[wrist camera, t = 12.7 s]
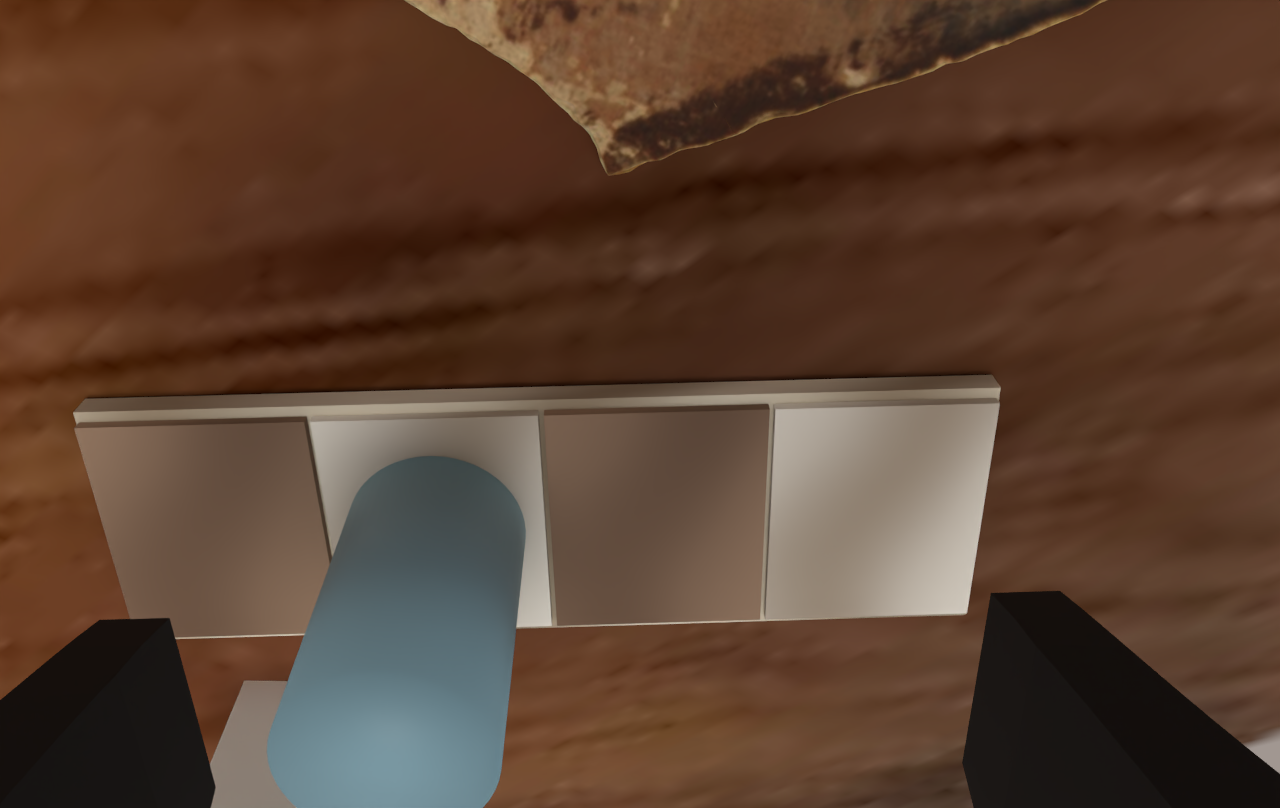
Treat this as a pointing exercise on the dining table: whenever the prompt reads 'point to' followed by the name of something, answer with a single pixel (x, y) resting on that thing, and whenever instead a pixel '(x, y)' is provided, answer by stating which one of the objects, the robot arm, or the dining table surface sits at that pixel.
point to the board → (563, 496)
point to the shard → (727, 57)
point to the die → (248, 751)
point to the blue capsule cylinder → (407, 647)
